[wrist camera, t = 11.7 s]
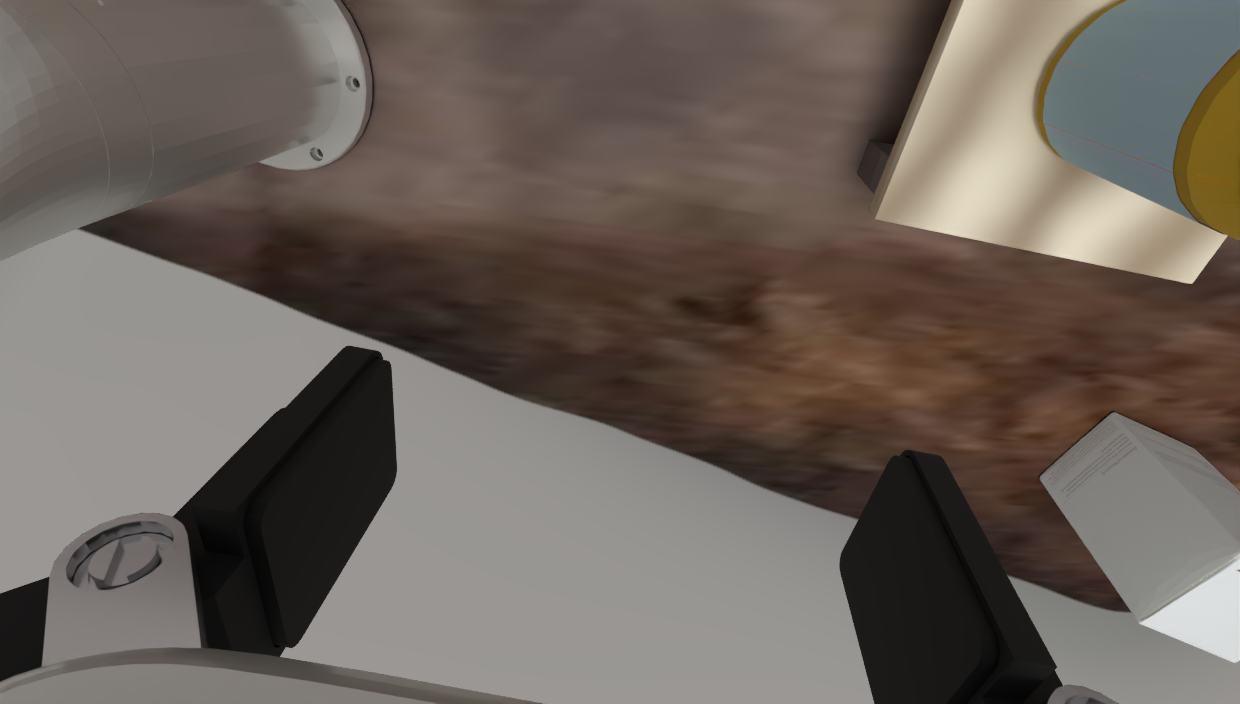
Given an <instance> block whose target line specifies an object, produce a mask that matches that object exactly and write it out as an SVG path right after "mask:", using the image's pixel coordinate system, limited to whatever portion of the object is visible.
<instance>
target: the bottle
mask: <svg viewBox="0 0 1240 704" xmlns="http://www.w3.org/2000/svg"><path fill="white" fill-rule="evenodd" d="M1037 120H1038V124H1039V127H1040V131H1041V134H1042V137H1043V139H1044V141H1045V142H1046V143H1047V145H1048V146H1049V147H1050V148H1051V149H1052V151H1053V152H1054V153H1055V154H1056V155H1057V156H1059V157H1060V158H1062V159H1064V160H1065V161H1067V162H1069V163H1071V164H1073V165H1075V166H1077V167H1079V168H1081V169H1083V170H1086V171H1088V172H1090V173H1092V174H1094V175H1096V176H1098V177H1101V178H1103V179H1105V180H1107V181H1109V182H1111V183H1113V184H1116V185H1118V186H1120V187H1122V188H1124V189H1126V190H1128V191H1131V192H1133V193H1135V194H1137V195H1139V196H1141V197H1144V198H1146V199H1148V200H1150V201H1152V202H1154V203H1156V204H1159V205H1161V206H1163V207H1165V208H1167V209H1169V210H1171V211H1174V212H1176V213H1178V214H1180V215H1182V216H1184V217H1186V218H1189V219H1191V220H1193V221H1195V222H1197V223H1199V224H1201V225H1204V226H1206V227H1208V228H1210V229H1212V230H1214V231H1217V232H1219V233H1221V234H1225V235H1228V236H1230V237H1232V238H1234V239H1237V240H1240V0H1119V1H1117V2H1115V3H1113V4H1112V5H1110V6H1108V7H1106V8H1104V9H1102V10H1100V11H1099V12H1098V13H1096V14H1095V15H1093V16H1092V17H1091V18H1090V19H1088V20H1087V21H1086V22H1085V23H1084V24H1083V25H1082V26H1080V27H1079V28H1078V29H1077V30H1076V31H1075V32H1074V33H1073V34H1072V35H1071V36H1070V37H1069V38H1068V39H1067V40H1066V42H1065V43H1064V44H1063V46H1062V47H1061V48H1060V50H1059V51H1058V53H1057V54H1056V55H1055V57H1054V58H1053V60H1052V61H1051V63H1050V65H1049V67H1048V69H1047V72H1046V74H1045V77H1044V79H1043V82H1042V84H1041V86H1040V90H1039V95H1038V106H1037Z"/></svg>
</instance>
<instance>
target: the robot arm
mask: <svg viewBox="0 0 1240 704" xmlns="http://www.w3.org/2000/svg"><path fill="white" fill-rule="evenodd" d="M357 80H358V81H359V84H360V86H359V85H358V84H357ZM371 104H372V75H371V70H370V64H369V58H368V55H367V52H366V49H365V46H364V43H363V40H362V37H361V35H360V33H359V31H358V29H357V27H356V25H355V23H354V21H353V19H352V17H351V15H350V13H349V12H348V10H347V9H346V7H345V6H344V5H343V3H342V2H341V0H0V262H1V261H3V260H5V259H6V258H9V257H11V256H13V255H15V254H17V253H20V252H22V251H24V250H26V249H29V248H31V247H33V246H35V245H37V244H39V243H42V242H44V241H47V240H50V239H52V238H54V237H57V236H60V235H62V234H65V233H67V232H69V231H72V230H75V229H77V228H80V227H82V226H85V225H88V224H91V223H93V222H96V221H99V220H101V219H104V218H107V217H109V216H112V215H116V214H118V213H121V212H124V211H127V210H129V209H132V208H135V207H137V206H140V205H143V204H146V203H148V202H151V201H154V200H156V199H159V198H162V197H165V196H167V195H170V194H173V193H175V192H178V191H181V190H184V189H186V188H189V187H192V186H194V185H197V184H200V183H202V182H205V181H208V180H211V179H213V178H216V177H219V176H221V175H224V174H227V173H230V172H232V171H235V170H238V169H240V168H243V167H246V166H249V165H251V164H254V163H257V162H260V163H262V164H265V165H268V166H271V167H275V168H278V169H284V170H293V171H301V170H311V169H315V168H318V167H321V166H324V165H327V164H329V163H331V162H333V161H335V160H337V159H339V158H341V157H342V156H343V155H345V154H346V153H347V152H348V151H349V150H351V149H352V148H353V147H354V145H355V144H356V142H357V141H358V140H359V138H360V137H361V135H362V134H363V131H364V129H365V127H366V124H367V122H368V119H369V115H370V109H371ZM321 151H322V152H321ZM396 472H397V461H396V442H395V424H394V407H393V388H392V370H391V364H390V362H389V361H386V360H383V357H382V354H381V353H380V352H379V351H375V350H370V349H364V348H359V347H353V346H346V347H345V348H343V349H342V350H341V351H340V352H339V353H338V354H337V355H336V356H335V357H334V358H333V360H331V361H330V363H328V365H327V366H326V367H325V368H324V369H323V370H322V371H321V372H320V373H319V374H318V375H317V376H316V377H315V378H314V379H313V380H312V381H311V382H310V383H309V384H308V385H307V386H306V387H305V388H304V389H303V390H302V391H301V392H300V393H299V394H298V395H297V397H295V399H293V401H292V402H291V403H290V404H289V405H288V406H287V407H286V408H282V409H280V410H279V411H278V412H276V413H275V414H274V415H273V416H272V417H271V418H270V419H269V420H268V421H267V422H266V423H265V424H264V425H263V426H262V427H261V428H260V429H259V430H258V431H257V432H256V433H255V434H254V435H253V436H252V437H251V438H250V439H249V440H248V441H247V442H246V443H245V444H244V445H243V446H242V447H241V448H240V449H239V450H238V451H237V452H236V453H235V454H234V455H233V456H232V457H231V458H230V459H229V460H228V461H227V462H226V463H225V464H224V465H223V466H222V468H220V469H219V470H218V471H217V472H216V474H214V476H213V477H212V478H211V479H210V480H209V481H208V482H207V483H206V484H205V485H204V486H203V487H202V488H201V489H200V490H199V491H198V492H197V493H196V494H195V495H194V496H193V497H192V498H191V499H190V500H189V501H188V502H187V503H186V504H185V505H184V506H183V507H182V508H181V509H180V510H179V511H178V512H177V513H176V514H175V515H174V516H173V517H171V516H167V515H164V514H160V513H139V514H133V515H127V516H122V517H119V518H116V519H113V520H110V521H108V522H105V523H102V524H100V525H98V526H96V527H94V528H92V529H91V530H89V531H87V532H85V533H83V534H81V535H80V536H79V537H78V538H76V539H75V540H74V541H73V542H71V543H70V544H69V545H68V546H66V547H65V549H64V550H63V551H62V553H61V554H60V555H59V556H58V557H57V559H56V560H55V561H54V564H53V567H52V570H51V573H50V577H48V578H44V579H42V580H39V581H36V582H33V583H30V584H27V585H24V586H21V587H18V588H15V589H12V590H9V591H7V592H4V593H1V594H0V704H542V703H537V702H531V701H526V700H521V699H515V698H510V697H504V696H499V695H493V694H488V693H482V692H477V691H471V690H465V689H460V688H455V687H450V686H444V685H439V684H433V683H428V682H422V681H417V680H411V679H406V678H400V677H395V676H389V675H384V674H378V673H373V672H367V671H361V670H355V669H349V668H342V667H337V666H331V665H325V664H318V663H312V662H307V661H301V660H295V659H288V658H282V657H280V655H281V654H282V652H283V651H284V649H285V647H289V648H293V647H294V646H296V644H298V642H299V641H300V640H301V638H302V637H303V635H304V633H305V632H306V630H307V628H308V627H309V625H310V623H311V622H312V620H313V618H314V617H315V615H316V613H317V612H318V610H319V608H320V607H321V605H322V603H323V602H324V600H325V598H326V596H327V595H328V593H329V591H330V590H331V588H332V586H333V585H334V583H335V582H336V580H337V578H338V577H339V575H340V573H341V572H342V570H343V568H344V566H345V565H346V563H347V562H348V560H349V558H350V557H351V555H352V553H353V552H354V550H355V548H356V547H357V545H358V543H359V542H360V540H361V538H362V537H363V535H364V533H365V531H366V530H367V528H368V527H369V525H370V523H371V522H372V520H373V518H374V516H375V515H376V513H377V511H378V510H379V508H380V507H381V505H382V503H383V502H384V500H385V498H386V497H387V495H388V493H389V492H390V490H391V488H392V486H393V484H394V481H395V478H396ZM840 572H841V577H842V580H843V584H844V588H845V592H846V596H847V600H848V603H849V607H850V611H851V615H852V619H853V623H854V627H855V630H856V634H857V638H858V642H859V646H860V650H861V653H862V657H863V661H864V665H865V669H866V673H867V676H868V681H869V684H870V688H871V692H872V696H873V700H874V704H1119V703H1117V702H1115V701H1113V700H1112V699H1110V698H1108V697H1107V696H1105V695H1103V694H1102V693H1100V692H1097V691H1094V690H1091V689H1089V688H1086V687H1083V686H1076V685H1065V686H1063V685H1062V683H1061V681H1060V679H1059V678H1058V676H1057V674H1056V672H1055V669H1056V668H1057V666H1056V664H1055V663H1054V661H1053V659H1052V657H1051V655H1050V654H1049V652H1048V650H1047V648H1046V646H1045V644H1044V642H1043V641H1042V639H1041V637H1040V635H1039V633H1038V631H1037V630H1036V628H1035V626H1034V624H1033V622H1032V621H1031V619H1030V617H1029V615H1028V613H1027V611H1026V609H1025V608H1024V606H1023V604H1022V602H1021V600H1020V598H1019V597H1018V595H1017V593H1016V591H1015V589H1014V587H1013V586H1012V584H1011V582H1010V580H1009V578H1008V576H1007V575H1006V573H1005V571H1004V569H1003V567H1002V565H1001V563H1000V562H999V560H998V558H997V556H996V554H995V552H994V551H993V549H992V547H991V545H990V543H989V541H988V540H987V538H986V536H985V534H984V532H983V530H982V529H981V527H980V525H979V523H978V521H977V519H976V518H975V516H974V514H973V512H972V510H971V508H970V507H969V505H968V503H967V501H966V499H965V497H964V496H963V494H962V492H961V490H960V488H959V486H958V485H957V483H956V481H955V479H954V477H953V475H952V474H951V472H950V470H949V468H948V466H947V464H946V463H945V461H944V460H943V458H942V457H941V456H938V455H934V454H929V453H924V452H918V451H913V450H905V451H904V452H902V453H901V455H900V456H893V457H892V458H891V459H890V461H889V462H888V464H887V466H886V468H885V470H884V472H883V474H882V476H881V478H880V480H879V481H878V483H877V485H876V487H875V489H874V491H873V493H872V495H871V497H870V499H869V501H868V503H867V504H866V506H865V508H864V510H863V512H862V514H861V516H860V518H859V520H858V522H857V524H856V526H855V528H854V529H853V531H852V533H851V535H850V537H849V539H848V541H847V543H846V545H845V547H844V549H843V551H842V553H841V557H840Z"/></svg>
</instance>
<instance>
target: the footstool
mask: <svg viewBox="0 0 1240 704" xmlns="http://www.w3.org/2000/svg"><path fill="white" fill-rule="evenodd" d="M1117 1H1119V0H952V1H951V3H950V6H949V8H948V11H947V13H946V16H945V18H944V21H943V23H942V26H941V28H940V31H939V33H938V36H937V38H936V41H935V43H934V46H933V48H932V51H931V53H930V56H929V58H928V61H927V63H926V66H925V68H924V71H923V74H922V76H921V79H920V81H919V84H918V86H917V89H916V91H915V94H914V96H913V99H912V101H911V104H910V106H909V109H908V111H907V114H906V116H905V119H904V121H903V124H902V126H901V129H900V131H899V134H898V136H897V139H896V141H895V144H894V145H892V144H887V143H883V142H878V141H873V140H869V143H868V146H867V148H866V151H865V154H864V156H863V159H862V162H861V164H860V167H859V170H858V172H857V174H858V175H859V177H860V178H861V179H862V180H863V181H864V183H865V184H866V185H867V186H868V187H869V189H870V190H871V191H872V192H873V193H874V197H873V199H872V202H871V204H870V207H869V209H868V210H869V212H870V213H871V214H872V216H873V217H874V218H875V219H877V220H882V221H887V222H892V223H896V224H901V225H906V226H911V227H916V228H921V229H926V230H931V231H935V232H940V233H945V234H950V235H955V236H960V237H965V238H970V239H974V240H979V241H984V242H989V243H994V244H999V245H1004V246H1009V247H1013V248H1018V249H1023V250H1028V251H1033V252H1038V253H1043V254H1048V255H1053V256H1057V257H1062V258H1067V259H1072V260H1077V261H1082V262H1087V263H1092V264H1096V265H1101V266H1106V267H1111V268H1116V269H1121V270H1126V271H1131V272H1135V273H1140V274H1145V275H1150V276H1155V277H1160V278H1165V279H1170V280H1174V281H1179V282H1184V283H1189V284H1192V283H1193V282H1194V280H1195V279H1196V278H1197V276H1198V275H1199V274H1200V272H1201V271H1202V270H1203V268H1204V267H1205V266H1206V264H1207V263H1208V262H1209V260H1210V259H1211V258H1212V256H1213V255H1214V254H1215V252H1216V251H1217V249H1218V248H1219V247H1220V245H1221V244H1222V243H1223V241H1224V240H1225V239H1226V237H1227V236H1228V235H1225V234H1221V233H1219V232H1217V231H1214V230H1212V229H1210V228H1208V227H1206V226H1204V225H1201V224H1199V223H1197V222H1195V221H1193V220H1191V219H1189V218H1186V217H1184V216H1182V215H1180V214H1178V213H1176V212H1174V211H1171V210H1169V209H1167V208H1165V207H1163V206H1161V205H1159V204H1156V203H1154V202H1152V201H1150V200H1148V199H1146V198H1144V197H1141V196H1139V195H1137V194H1135V193H1133V192H1131V191H1128V190H1126V189H1124V188H1122V187H1120V186H1118V185H1116V184H1113V183H1111V182H1109V181H1107V180H1105V179H1103V178H1101V177H1098V176H1096V175H1094V174H1092V173H1090V172H1088V171H1086V170H1083V169H1081V168H1079V167H1077V166H1075V165H1073V164H1071V163H1069V162H1067V161H1065V160H1064V159H1062V158H1060V157H1059V156H1057V155H1056V154H1055V153H1054V152H1053V151H1052V149H1051V148H1050V147H1049V146H1048V145H1047V143H1046V142H1045V141H1044V139H1043V137H1042V134H1041V131H1040V127H1039V124H1038V120H1037V106H1038V95H1039V90H1040V86H1041V84H1042V82H1043V79H1044V77H1045V74H1046V72H1047V69H1048V67H1049V65H1050V63H1051V61H1052V60H1053V58H1054V57H1055V55H1056V54H1057V53H1058V51H1059V50H1060V48H1061V47H1062V46H1063V44H1064V43H1065V42H1066V40H1067V39H1068V38H1069V37H1070V36H1071V35H1072V34H1073V33H1074V32H1075V31H1076V30H1077V29H1078V28H1079V27H1080V26H1082V25H1083V24H1084V23H1085V22H1086V21H1087V20H1088V19H1090V18H1091V17H1092V16H1093V15H1095V14H1096V13H1098V12H1099V11H1100V10H1102V9H1104V8H1106V7H1108V6H1110V5H1112V4H1113V3H1115V2H1117Z"/></svg>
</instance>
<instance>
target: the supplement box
mask: <svg viewBox="0 0 1240 704" xmlns="http://www.w3.org/2000/svg"><path fill="white" fill-rule="evenodd" d="M1040 480H1041V482H1042V483H1043V485H1044V486H1045V488H1046V489H1047V491H1048V492H1049V494H1050V495H1051V497H1052V498H1053V500H1054V501H1055V502H1056V504H1057V505H1058V507H1059V508H1060V510H1061V511H1062V512H1063V514H1064V515H1065V517H1066V518H1067V520H1068V521H1069V523H1070V524H1071V525H1072V527H1073V528H1074V530H1075V531H1076V533H1077V534H1078V535H1079V537H1080V538H1081V540H1082V541H1083V543H1084V544H1085V546H1086V547H1087V548H1088V550H1089V551H1090V553H1091V554H1092V555H1093V557H1094V558H1095V560H1096V561H1097V563H1098V564H1099V566H1100V567H1101V569H1102V570H1103V571H1104V573H1105V574H1106V576H1107V577H1108V579H1109V580H1110V582H1111V583H1112V584H1113V586H1114V587H1115V589H1116V590H1117V592H1118V593H1119V595H1120V596H1121V598H1122V599H1123V600H1124V602H1125V603H1126V605H1127V606H1128V608H1129V609H1130V611H1131V612H1132V613H1133V615H1134V616H1135V618H1136V619H1137V621H1138V623H1139V624H1142V625H1144V626H1146V627H1149V628H1151V629H1154V630H1156V631H1159V632H1161V633H1164V634H1166V635H1169V636H1171V637H1173V638H1176V639H1178V640H1180V641H1183V642H1185V643H1188V644H1190V645H1193V646H1195V647H1197V648H1200V649H1202V650H1205V651H1207V652H1210V653H1212V654H1214V655H1216V656H1219V657H1221V658H1224V659H1226V660H1228V661H1231V662H1233V663H1236V662H1238V661H1240V491H1239V490H1238V489H1237V488H1236V487H1234V486H1233V485H1232V484H1231V483H1230V482H1229V481H1228V480H1227V479H1226V478H1225V477H1224V476H1223V475H1222V474H1221V473H1219V472H1218V471H1217V470H1216V469H1215V468H1214V467H1213V466H1212V465H1211V464H1210V463H1209V462H1208V461H1207V460H1206V459H1205V458H1204V457H1203V456H1202V455H1201V454H1199V453H1198V452H1197V451H1196V450H1195V449H1194V448H1192V447H1190V446H1188V445H1186V444H1184V443H1182V442H1179V441H1177V440H1175V439H1173V438H1171V437H1168V436H1166V435H1164V434H1162V433H1160V432H1157V431H1155V430H1153V429H1151V428H1149V427H1146V426H1144V425H1142V424H1140V423H1137V422H1135V421H1133V420H1131V419H1129V418H1126V417H1124V416H1122V415H1120V414H1118V413H1115V412H1113V413H1111V414H1110V415H1109V416H1107V417H1106V418H1105V419H1104V420H1103V421H1102V422H1100V423H1099V424H1098V425H1097V426H1096V427H1095V428H1094V429H1092V430H1091V431H1090V432H1089V433H1088V434H1087V435H1086V436H1084V437H1083V438H1082V439H1081V440H1080V441H1079V442H1078V443H1076V444H1075V445H1074V446H1073V447H1072V448H1070V449H1069V450H1068V451H1067V452H1066V453H1065V454H1064V455H1063V456H1062V457H1060V458H1059V459H1058V460H1057V461H1056V462H1055V463H1054V464H1053V465H1051V466H1050V467H1049V468H1048V469H1047V470H1046V471H1045V472H1044V473H1043V474H1042V475H1041V476H1040Z"/></svg>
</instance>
